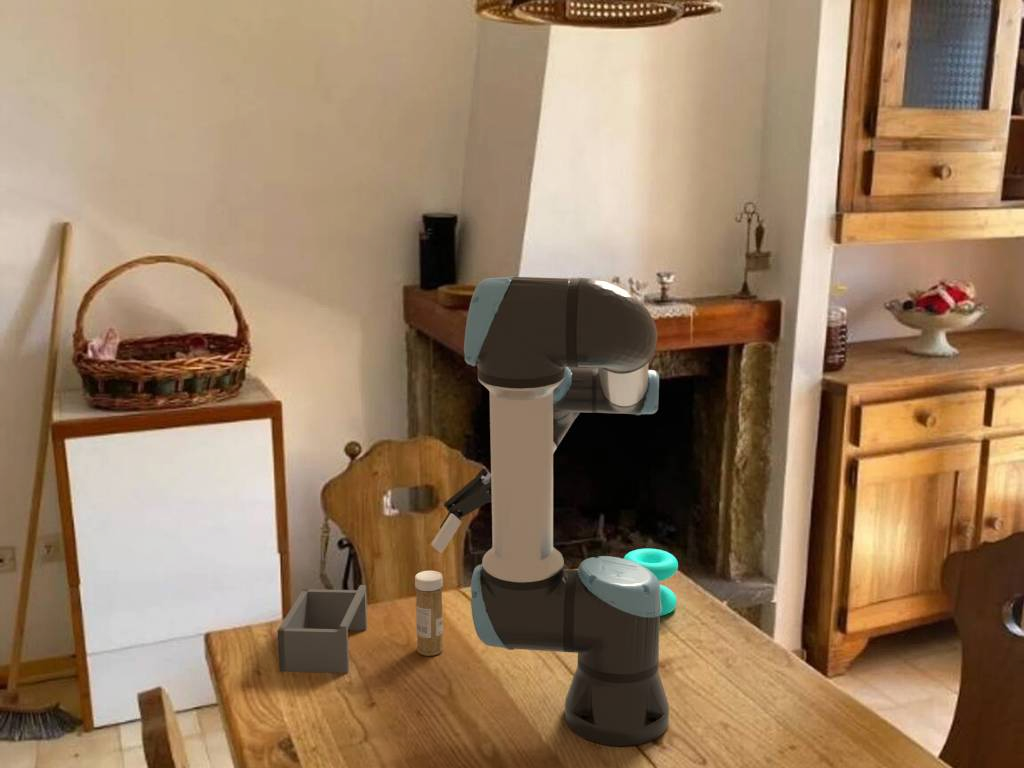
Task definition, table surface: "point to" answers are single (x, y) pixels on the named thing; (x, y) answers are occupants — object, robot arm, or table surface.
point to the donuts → (658, 572)
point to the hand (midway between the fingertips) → (461, 560)
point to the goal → (321, 630)
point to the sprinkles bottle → (429, 612)
